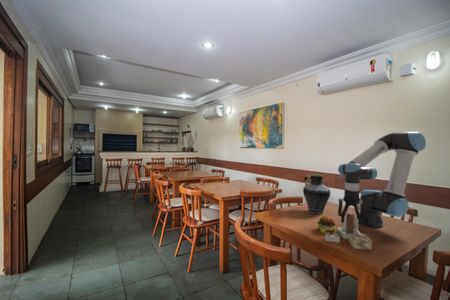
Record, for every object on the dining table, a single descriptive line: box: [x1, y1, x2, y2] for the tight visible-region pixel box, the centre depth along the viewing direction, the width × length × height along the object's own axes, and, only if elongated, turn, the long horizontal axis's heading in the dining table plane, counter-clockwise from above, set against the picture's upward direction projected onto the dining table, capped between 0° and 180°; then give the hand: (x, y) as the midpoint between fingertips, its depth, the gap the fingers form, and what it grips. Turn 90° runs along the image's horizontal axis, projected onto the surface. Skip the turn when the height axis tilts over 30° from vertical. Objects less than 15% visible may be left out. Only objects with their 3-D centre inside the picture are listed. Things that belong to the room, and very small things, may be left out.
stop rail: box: [324, 233, 341, 244], centre depth 121 cm, size 7×2×4 cm, turn 76°
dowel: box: [345, 212, 356, 234], centre depth 128 cm, size 4×4×12 cm
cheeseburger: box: [316, 215, 337, 235], centre depth 135 cm, size 10×11×10 cm
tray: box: [337, 226, 362, 240], centre depth 128 cm, size 11×11×2 cm
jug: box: [302, 173, 331, 215], centre depth 171 cm, size 21×19×30 cm
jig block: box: [348, 233, 373, 251], centre depth 116 cm, size 8×8×5 cm
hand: (350, 228), depth 128 cm, fingers open, 6 cm apart
